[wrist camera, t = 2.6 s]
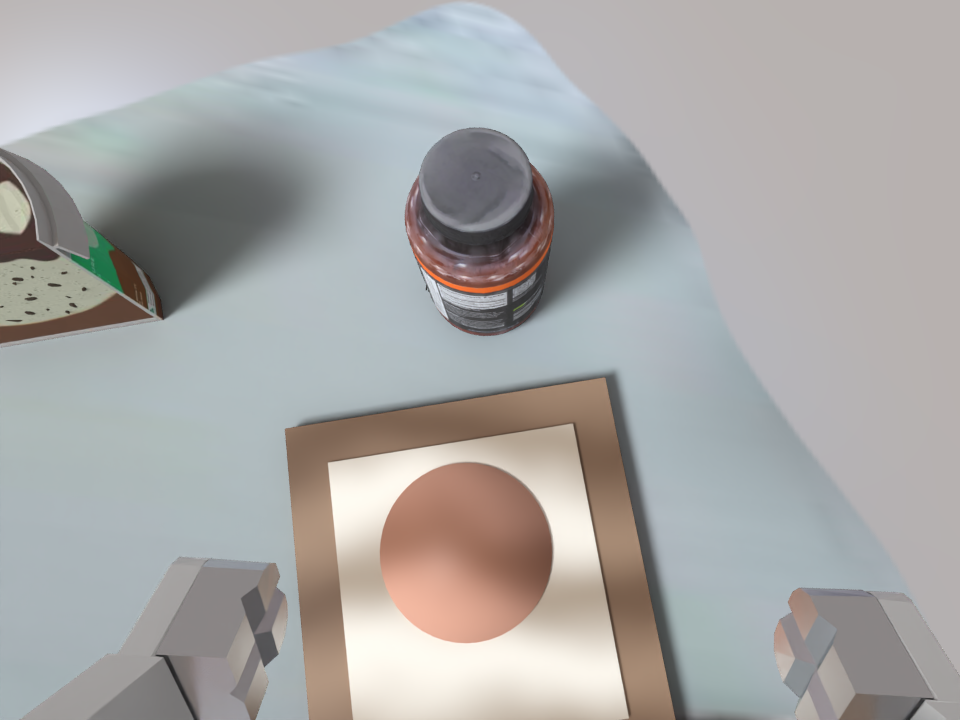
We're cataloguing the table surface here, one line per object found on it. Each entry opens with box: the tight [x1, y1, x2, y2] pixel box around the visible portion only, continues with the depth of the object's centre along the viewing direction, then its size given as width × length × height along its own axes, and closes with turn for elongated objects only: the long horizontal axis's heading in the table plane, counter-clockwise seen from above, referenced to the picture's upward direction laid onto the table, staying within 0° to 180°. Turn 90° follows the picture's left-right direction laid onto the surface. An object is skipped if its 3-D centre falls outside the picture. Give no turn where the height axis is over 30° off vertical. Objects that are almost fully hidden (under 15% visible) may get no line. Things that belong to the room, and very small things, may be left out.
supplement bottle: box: [405, 128, 554, 336], centre depth 26 cm, size 6×6×11 cm
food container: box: [0, 148, 163, 348], centre depth 28 cm, size 12×6×10 cm, turn 99°
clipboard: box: [285, 377, 675, 720], centre depth 28 cm, size 18×16×2 cm
